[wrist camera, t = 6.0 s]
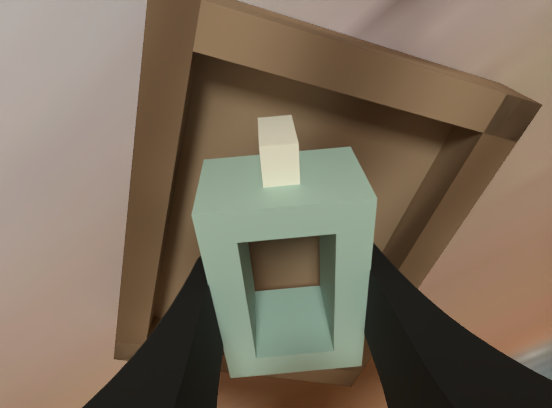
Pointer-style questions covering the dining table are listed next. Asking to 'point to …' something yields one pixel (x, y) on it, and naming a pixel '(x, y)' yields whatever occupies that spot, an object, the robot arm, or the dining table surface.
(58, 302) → the dining table surface
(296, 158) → the green hollow block
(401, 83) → the tray
